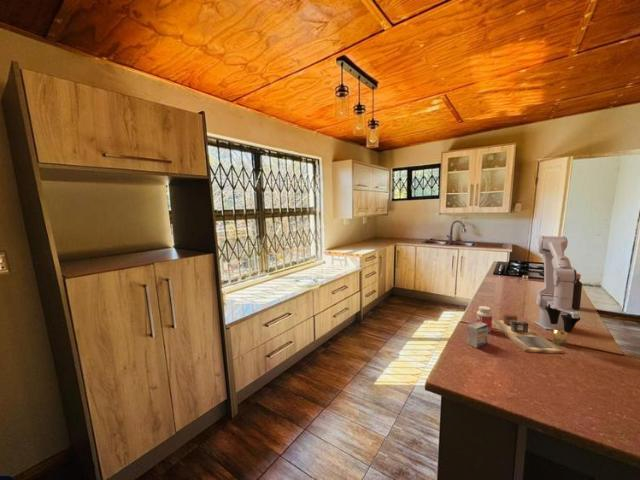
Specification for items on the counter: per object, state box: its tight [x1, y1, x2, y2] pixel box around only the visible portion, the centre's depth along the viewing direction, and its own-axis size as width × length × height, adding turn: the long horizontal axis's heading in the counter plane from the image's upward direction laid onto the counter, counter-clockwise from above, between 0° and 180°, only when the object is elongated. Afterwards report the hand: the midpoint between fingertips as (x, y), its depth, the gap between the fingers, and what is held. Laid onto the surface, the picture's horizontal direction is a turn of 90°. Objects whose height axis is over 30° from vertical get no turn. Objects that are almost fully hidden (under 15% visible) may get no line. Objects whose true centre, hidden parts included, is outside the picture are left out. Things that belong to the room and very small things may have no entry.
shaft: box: [503, 314, 523, 330], centre depth 123 cm, size 5×9×4 cm, turn 172°
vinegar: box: [572, 272, 583, 311], centre depth 146 cm, size 7×7×20 cm
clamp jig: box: [492, 319, 564, 354], centre depth 118 cm, size 14×28×5 cm, turn 172°
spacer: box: [551, 328, 568, 347], centre depth 110 cm, size 4×4×6 cm
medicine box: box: [466, 321, 489, 349], centre depth 112 cm, size 8×4×9 cm, turn 117°
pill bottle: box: [476, 305, 493, 333], centre depth 124 cm, size 6×6×11 cm
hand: (560, 327), depth 110 cm, fingers open, 7 cm apart
